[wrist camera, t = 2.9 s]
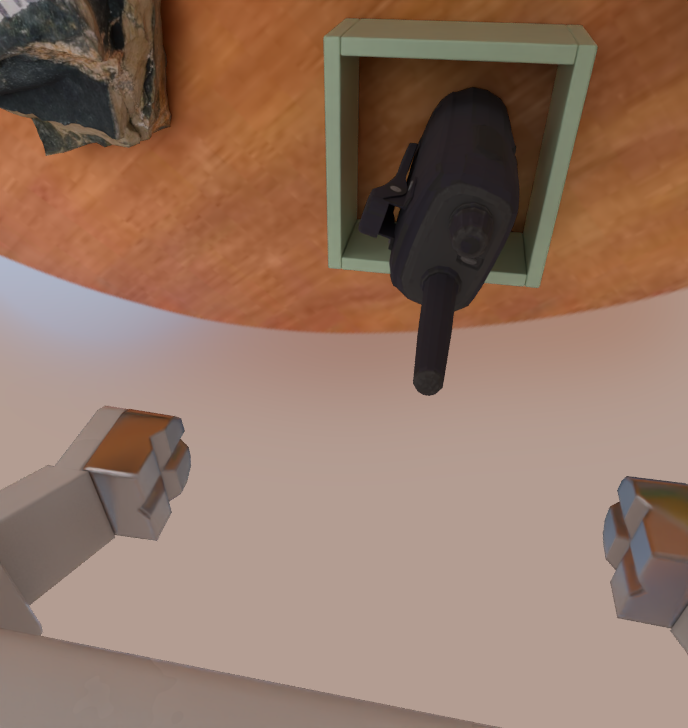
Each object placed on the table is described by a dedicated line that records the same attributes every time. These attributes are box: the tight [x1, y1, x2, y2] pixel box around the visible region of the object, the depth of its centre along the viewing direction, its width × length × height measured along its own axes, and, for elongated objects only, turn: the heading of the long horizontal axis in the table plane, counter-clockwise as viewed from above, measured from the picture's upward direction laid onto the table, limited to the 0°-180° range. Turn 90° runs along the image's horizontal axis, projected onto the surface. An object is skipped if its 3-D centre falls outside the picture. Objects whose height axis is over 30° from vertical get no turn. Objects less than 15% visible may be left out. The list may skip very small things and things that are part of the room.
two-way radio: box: [358, 87, 519, 396], centre depth 19 cm, size 6×4×15 cm
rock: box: [0, 0, 171, 156], centre depth 23 cm, size 9×9×6 cm
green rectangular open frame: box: [324, 18, 598, 288], centre depth 23 cm, size 9×9×4 cm
